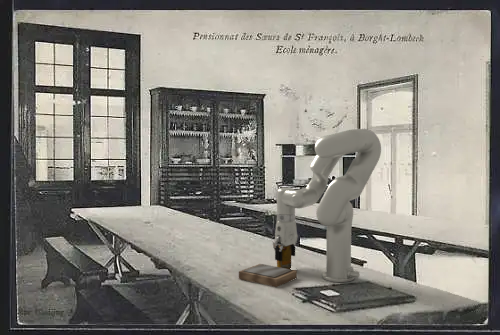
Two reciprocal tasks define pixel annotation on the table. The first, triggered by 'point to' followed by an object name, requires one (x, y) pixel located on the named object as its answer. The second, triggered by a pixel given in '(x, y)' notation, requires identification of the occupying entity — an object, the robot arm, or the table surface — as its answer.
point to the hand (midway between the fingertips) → (285, 257)
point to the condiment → (285, 258)
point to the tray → (267, 275)
